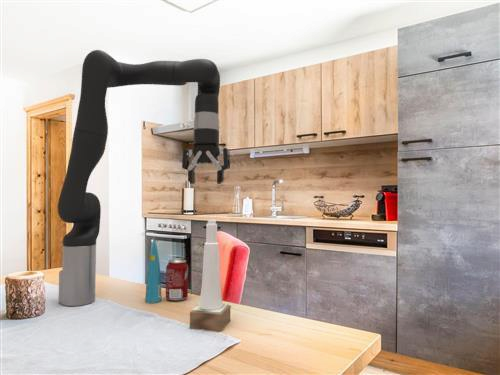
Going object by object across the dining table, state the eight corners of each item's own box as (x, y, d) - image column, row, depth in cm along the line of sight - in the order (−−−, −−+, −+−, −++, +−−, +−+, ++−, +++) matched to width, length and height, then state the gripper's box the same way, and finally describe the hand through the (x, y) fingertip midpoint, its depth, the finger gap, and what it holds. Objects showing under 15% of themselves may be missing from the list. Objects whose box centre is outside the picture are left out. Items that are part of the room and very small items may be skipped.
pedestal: (189, 328, 90) (189, 310, 90) (201, 318, 98) (201, 301, 98) (220, 331, 88) (221, 313, 88) (230, 320, 96) (230, 303, 96)
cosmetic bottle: (195, 309, 91) (196, 220, 92) (203, 302, 97) (204, 218, 97) (218, 311, 90) (219, 220, 90) (225, 304, 95) (226, 219, 96)
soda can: (182, 302, 112) (183, 263, 112) (162, 301, 113) (162, 262, 113) (190, 296, 118) (191, 259, 118) (171, 295, 119) (171, 258, 120)
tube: (143, 298, 116) (145, 237, 116) (159, 297, 117) (160, 236, 118) (147, 305, 109) (148, 240, 109) (163, 303, 111) (164, 239, 111)
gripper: (179, 127, 107) (178, 183, 107) (225, 126, 104) (224, 183, 104) (189, 132, 115) (188, 184, 114) (232, 130, 111) (232, 184, 111)
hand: (205, 183), depth 109 cm, fingers open, 8 cm apart
